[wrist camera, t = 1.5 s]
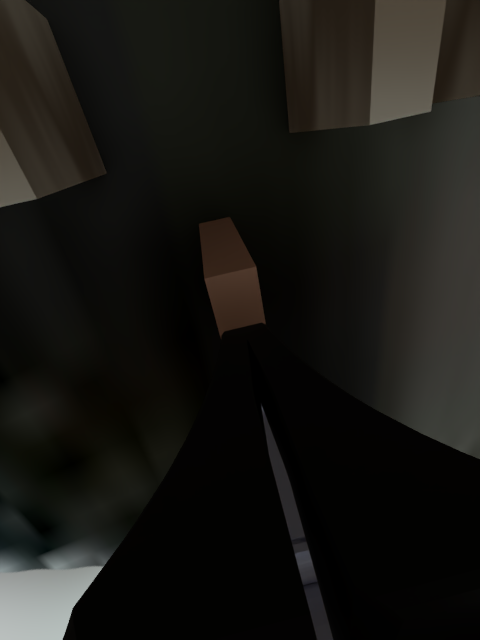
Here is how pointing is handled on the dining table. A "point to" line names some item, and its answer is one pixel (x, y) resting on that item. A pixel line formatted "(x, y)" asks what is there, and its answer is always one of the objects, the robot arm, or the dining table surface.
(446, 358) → the dining table surface
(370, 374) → the dining table surface
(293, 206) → the dining table surface
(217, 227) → the terracotta domino
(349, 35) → the domino
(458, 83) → the domino
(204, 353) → the dining table surface
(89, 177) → the domino
